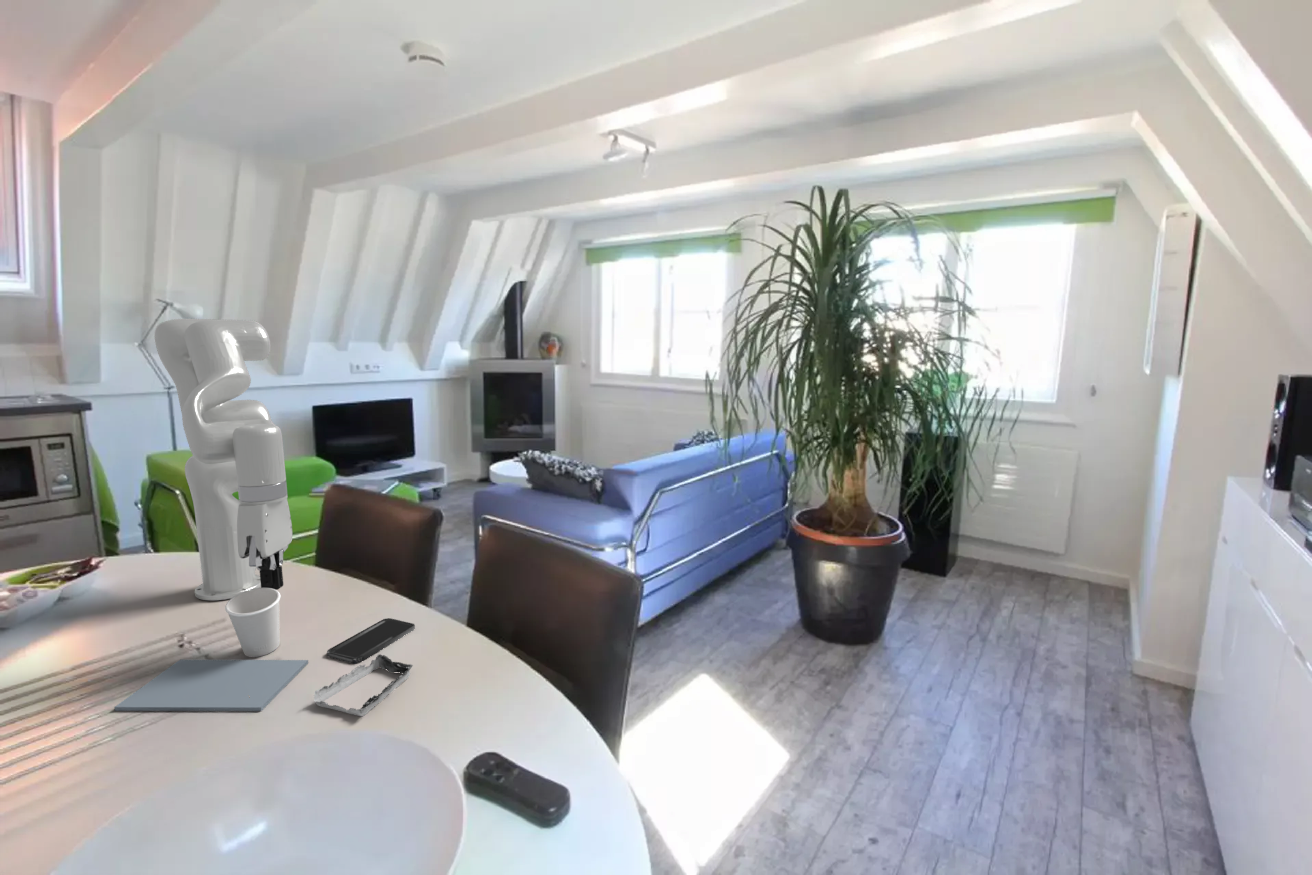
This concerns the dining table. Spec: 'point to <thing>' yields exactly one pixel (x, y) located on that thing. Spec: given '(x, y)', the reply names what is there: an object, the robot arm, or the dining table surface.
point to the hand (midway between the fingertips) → (272, 587)
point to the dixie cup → (256, 620)
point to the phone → (370, 640)
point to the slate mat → (214, 686)
